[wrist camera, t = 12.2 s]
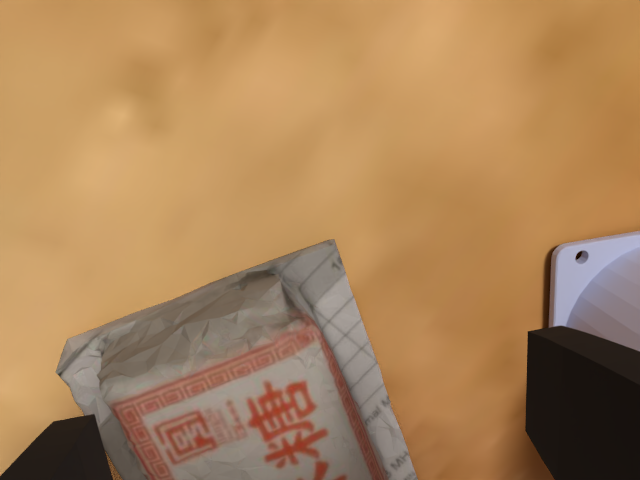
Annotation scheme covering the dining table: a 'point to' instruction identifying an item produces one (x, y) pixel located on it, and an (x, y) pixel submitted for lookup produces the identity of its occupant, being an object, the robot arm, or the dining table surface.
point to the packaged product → (243, 381)
